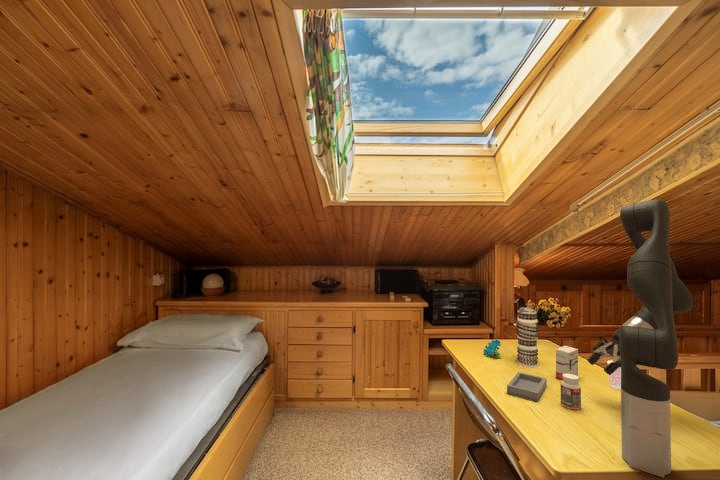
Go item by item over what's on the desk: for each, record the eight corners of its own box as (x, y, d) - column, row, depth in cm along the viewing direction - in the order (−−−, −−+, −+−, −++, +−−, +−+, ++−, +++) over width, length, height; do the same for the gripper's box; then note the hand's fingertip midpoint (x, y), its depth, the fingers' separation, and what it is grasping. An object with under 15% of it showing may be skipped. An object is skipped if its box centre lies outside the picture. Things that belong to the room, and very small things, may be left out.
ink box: (568, 382, 127) (568, 352, 128) (555, 378, 132) (555, 348, 132) (578, 377, 132) (578, 348, 132) (565, 373, 136) (565, 345, 136)
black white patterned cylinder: (527, 359, 153) (527, 305, 154) (544, 366, 144) (543, 309, 145) (511, 361, 150) (511, 307, 151) (527, 368, 142) (527, 311, 142)
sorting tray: (538, 402, 112) (538, 393, 112) (507, 393, 118) (507, 385, 118) (546, 386, 124) (546, 378, 124) (518, 379, 130) (518, 371, 130)
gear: (480, 348, 165) (495, 335, 163) (488, 356, 165) (503, 343, 163) (485, 358, 154) (502, 345, 152) (494, 367, 154) (511, 353, 152)
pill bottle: (576, 412, 105) (576, 381, 105) (557, 405, 110) (557, 375, 110) (583, 406, 109) (583, 376, 109) (565, 400, 113) (564, 371, 113)
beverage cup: (623, 384, 125) (623, 348, 125) (631, 391, 119) (630, 353, 120) (604, 382, 127) (604, 346, 127) (610, 389, 122) (610, 351, 122)
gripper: (610, 320, 115) (576, 352, 116) (642, 331, 101) (603, 367, 102) (626, 335, 115) (592, 367, 116) (660, 348, 101) (621, 385, 101)
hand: (597, 367), depth 109 cm, fingers open, 8 cm apart
